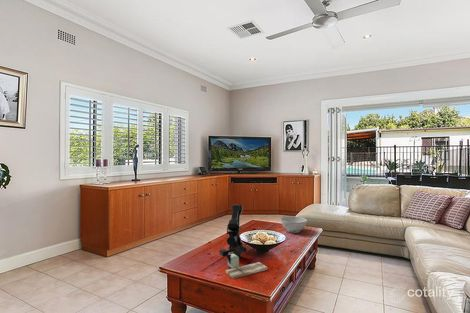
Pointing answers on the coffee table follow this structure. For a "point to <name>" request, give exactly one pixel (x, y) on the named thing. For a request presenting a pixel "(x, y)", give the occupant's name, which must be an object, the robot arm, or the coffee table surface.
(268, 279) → the coffee table surface
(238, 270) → the birch board
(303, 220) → the decorative bowl
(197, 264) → the coffee table surface
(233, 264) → the block
